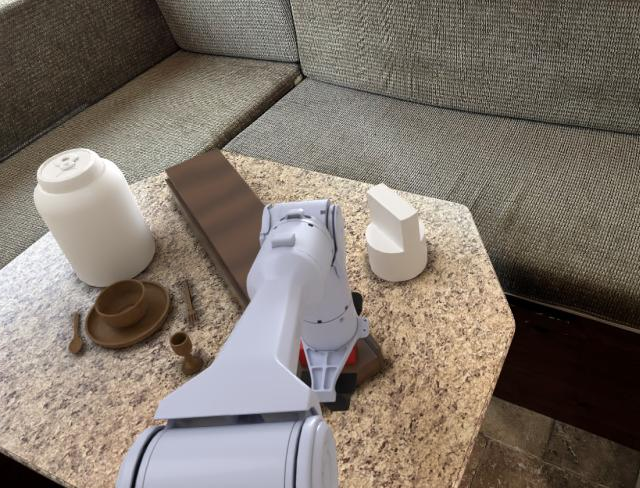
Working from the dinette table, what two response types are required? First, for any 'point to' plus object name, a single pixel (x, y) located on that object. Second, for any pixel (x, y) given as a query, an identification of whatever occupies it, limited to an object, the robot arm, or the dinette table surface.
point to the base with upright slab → (394, 236)
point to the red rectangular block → (303, 359)
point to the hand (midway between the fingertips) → (342, 376)
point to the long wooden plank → (238, 234)
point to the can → (93, 217)
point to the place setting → (134, 319)
